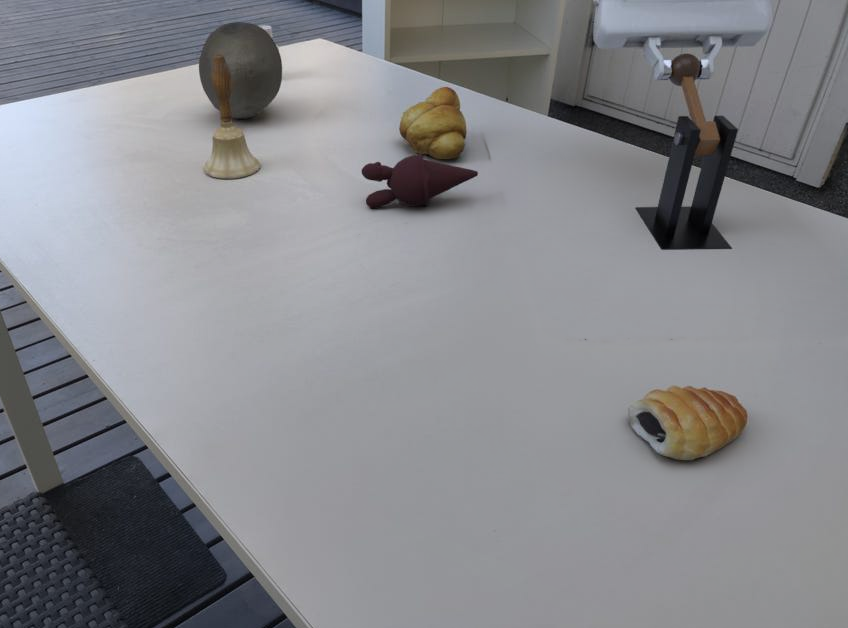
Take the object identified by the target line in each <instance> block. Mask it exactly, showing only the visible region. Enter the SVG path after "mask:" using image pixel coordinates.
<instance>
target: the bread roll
mask: <svg viewBox="0 0 848 628" xmlns="http://www.w3.org/2000/svg"><path fill="white" fill-rule="evenodd" d="M398 131H399V134H400V136H401V137H402V139H403V140H405V142H406V143H407V144H408V146H409V147H410V148H411V149H412V150H413V151H414V152H415V153H416V154H417V153H418V154H420V152H421V153H422V154H423V155H428V156H430V157H432V158H434V159H437V160H439V159H440V160H453V159H455V158H458V157H459V156H460V155H461V154H462V153H463V151H464V150H465V146H466V141H465V140H466V138H467V131H468V130H467V122H466V118H465V116H464V114H463V112H462V111H461V102H460V98H459V95H458V93H457V92H456V91H455V90H454V89H453V88H452V87H449V86H441V87H440V88H436V89H435V90H433V92H432V93H431V94H430V95H429V96H428V97H426V99H424V101H419V102H418V103H416V104H414V105H412V106H410V107H409V108H407V109H406V110H405V111H404V112H402V116H401V118H400V122H399V128H398Z"/></svg>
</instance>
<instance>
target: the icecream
mask: <svg viewBox="0 0 848 628" xmlns="http://www.w3.org/2000/svg"><path fill="white" fill-rule="evenodd" d="M361 175H362V176H363V178H365V179H366V180H367V181H372V182H379V183H380V182H383V181H386V185H387V187H388V188H384V189H380V190H379V189H378V190H375V191H374V192H372V193H370V194H368V195H367V196H366V198H365V203H366V207H369V208H371V209H376V208H383V207H385V206H387V205H390V204H391V203H393V202H394V201H395V200H398V201H399V202H400V203H402V204H403V205H407V206H410V207H420V206H426V207H428V206H429V205H430V200H431V199H433V198H434V197H437V196H439V195H441V194H443V193H445V192H447V191H449V190H451V189H453V188H455V187H457V186H459V185H462V184H463V183H465V182H467V181H470V180H472V179H474V178H475V177H478V176H479V172H478V170H474V169H470V168H467V167H461V166H457V165H452V164H448V163H443V162H437V161H433V160H429V159H424V154H422V153H421V152H420V153H418V154H412V155H409V156H407V157H404V158H402V159H401V160H399V161H398V162H397V163H396V164H395V165H394V167H391V166H388V165H384V164H382V163H381V161H375V162H374V163H372V162H369V163H367V164H365V165H364V166H363V167H362V168H361Z"/></svg>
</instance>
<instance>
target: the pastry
mask: <svg viewBox="0 0 848 628" xmlns="http://www.w3.org/2000/svg"><path fill="white" fill-rule="evenodd" d="M627 417H628V419H629V422H630V423H629V425H630V427H631V428H632V430H633V431H634V432H635V433H636V434H637V435H638V436H639V437H640V438H642V439H643V440H645V442H647V443H648V444H650V446H651V447H652V449H653V450H654V451H655V452H656V453H658V454H659V455H661V456H664V457H667V458H671V459H673V460H677V461H693V460H695V459H698V458H701V457H702V458H705V457H707V456H709V455H711V454H713V453H715V452H717V451H719V450H721V449H722V448H723V447H725V446H727V445H728V444H730V443H731V442H732V441H735V439H737V438H738V437H739V436H740V435H741V434H742V433H743V431H744V429H745V427H746V426H747V423H748V412H747V409H746V408H745V407H744V406H743V405H742V404H741V403H740V402H739V400H738V398H737V397H736V396H735V395H733V394H730V393H728V392H726V391H723V390H716V389H708V388H707V387H701V388H696V387H693V386H691V385H686V386H684V387H683V388H682V387H680V386H678V385H671V386H669V387H668V388H667V389H666V390H662V389H659V388H658V389H657V388H656V389H654V390H651V391H649V392H647V394H646V395H645V396H644V397H643V398H642V399H640V400H638V401H636V402H635V403H634V404H633V405H630V406H629V407H628V408H627Z"/></svg>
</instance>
